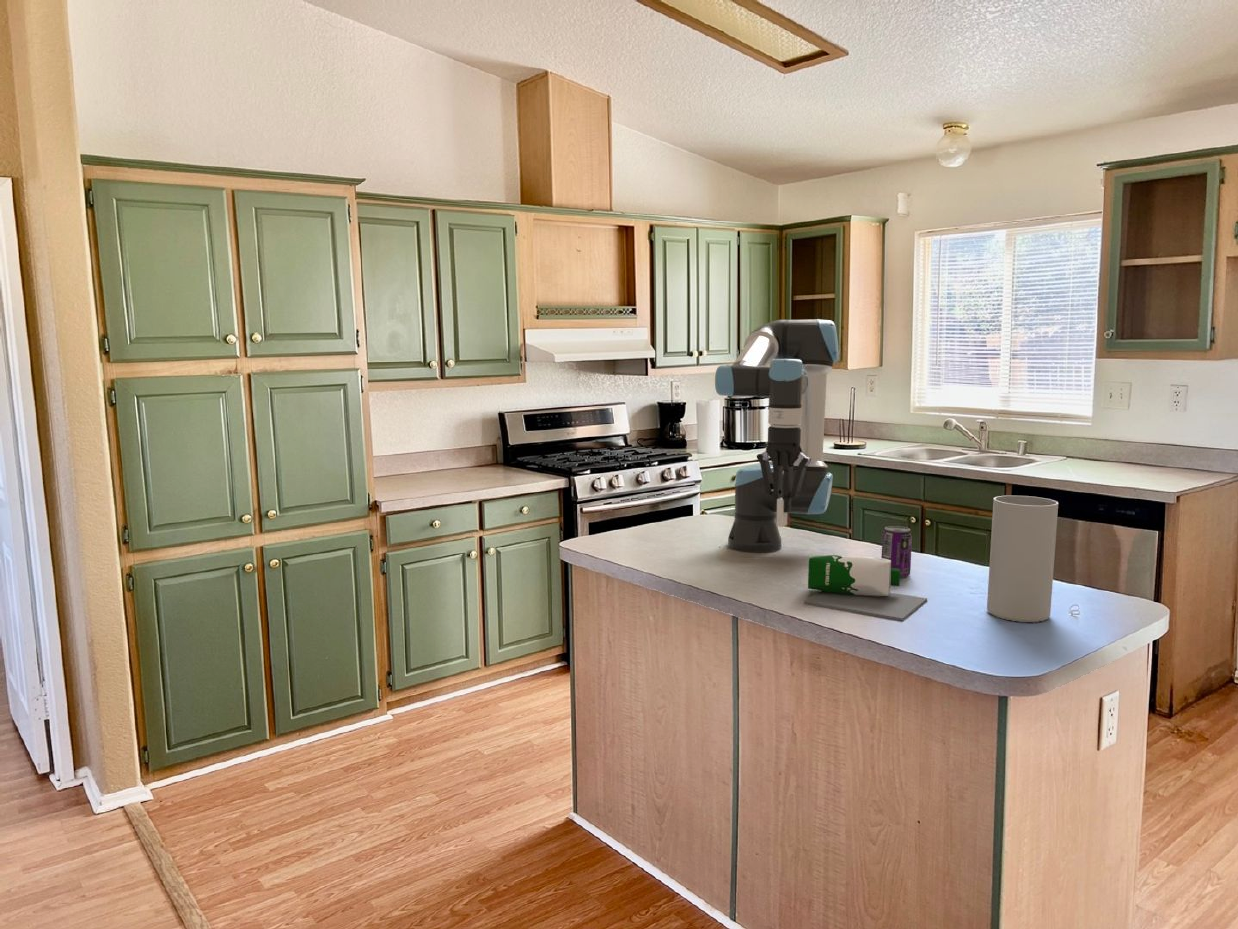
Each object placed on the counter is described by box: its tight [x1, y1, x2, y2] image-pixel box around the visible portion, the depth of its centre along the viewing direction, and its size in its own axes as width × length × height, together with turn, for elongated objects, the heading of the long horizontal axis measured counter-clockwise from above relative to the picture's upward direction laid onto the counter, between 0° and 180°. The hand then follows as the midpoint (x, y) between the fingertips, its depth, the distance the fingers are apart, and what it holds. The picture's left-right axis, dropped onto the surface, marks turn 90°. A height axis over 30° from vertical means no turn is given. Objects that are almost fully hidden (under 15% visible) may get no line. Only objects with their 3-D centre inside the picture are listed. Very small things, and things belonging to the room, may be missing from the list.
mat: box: [803, 591, 928, 622], centre depth 201 cm, size 22×18×1 cm
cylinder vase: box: [986, 495, 1059, 623], centre depth 191 cm, size 12×12×25 cm
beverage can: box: [880, 525, 913, 579], centre depth 224 cm, size 7×7×12 cm
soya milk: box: [807, 554, 901, 596], centre depth 206 cm, size 9×9×20 cm
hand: (781, 525), depth 210 cm, fingers closed
